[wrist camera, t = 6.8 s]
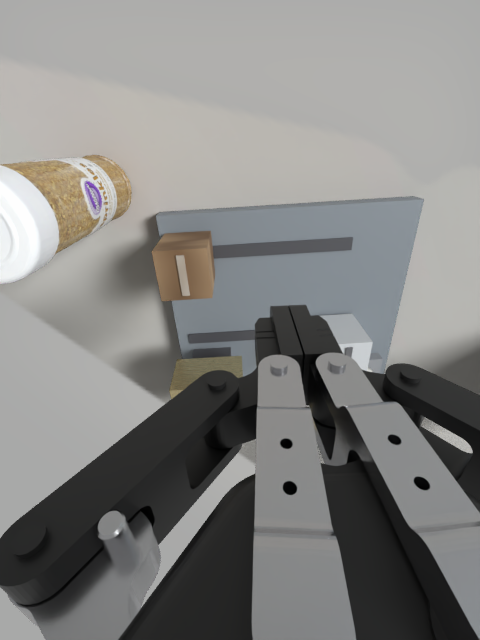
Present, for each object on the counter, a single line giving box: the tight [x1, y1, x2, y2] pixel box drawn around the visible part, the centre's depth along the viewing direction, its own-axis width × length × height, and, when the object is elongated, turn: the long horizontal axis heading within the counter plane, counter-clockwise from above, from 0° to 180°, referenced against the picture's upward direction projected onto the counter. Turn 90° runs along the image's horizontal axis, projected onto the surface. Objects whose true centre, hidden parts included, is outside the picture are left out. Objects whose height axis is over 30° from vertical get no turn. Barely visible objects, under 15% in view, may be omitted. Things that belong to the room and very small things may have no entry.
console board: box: [156, 196, 424, 376], centre depth 27 cm, size 20×18×5 cm
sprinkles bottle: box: [0, 155, 131, 284], centre depth 17 cm, size 5×5×13 cm
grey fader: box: [320, 314, 373, 371], centre depth 26 cm, size 4×4×5 cm
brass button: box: [169, 356, 243, 399], centre depth 26 cm, size 6×6×4 cm
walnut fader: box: [152, 231, 215, 301], centre depth 22 cm, size 4×4×5 cm
